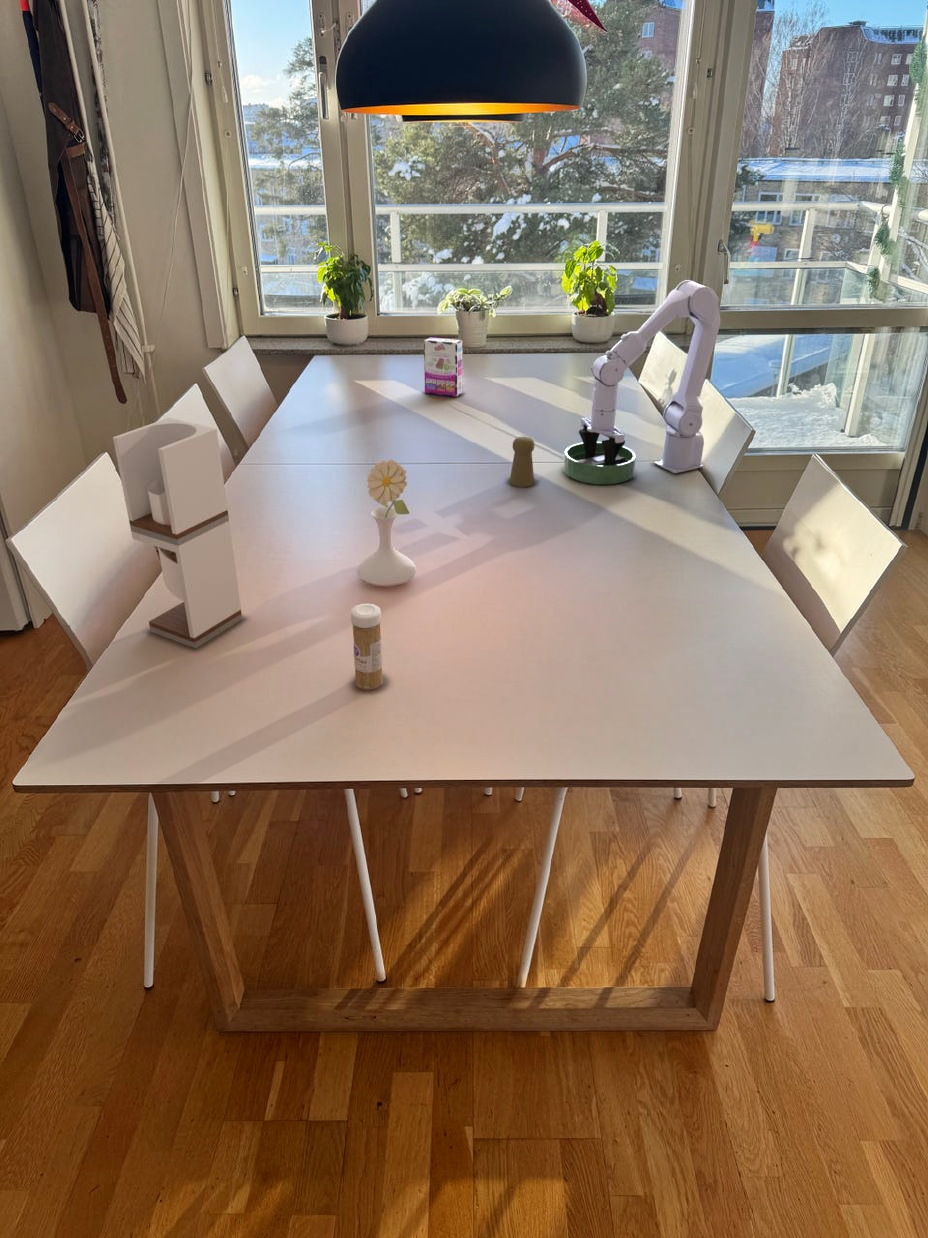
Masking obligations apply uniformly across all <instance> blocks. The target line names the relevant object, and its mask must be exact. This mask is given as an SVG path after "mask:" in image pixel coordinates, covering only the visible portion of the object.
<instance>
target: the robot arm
mask: <svg viewBox="0 0 928 1238" xmlns="http://www.w3.org/2000/svg"><path fill="white" fill-rule="evenodd" d="M719 302H720V298H719V296H718V295H717V293H716V292H715V291H714V289H713V288H711V287H709V286H705V285H702V284H699V283H697V282H695V281H694V280H691V279H686V280H683V281H681V282H680V283H678V285H677V286H676V288H674V289H672V290H671V291H669V293H668V295H667V297H666V298H665V300H664V301H663V302H662V303H661V304H660V306H658V308H656V310H655V311H654V312H653V313H652V314H651V315H650V316H649V317H648V319H647V320H645V322H644V323H643V324H642V325H641V326H640V328H638V329H637V330H636V331H629V332H627V333H623V334H622V335H621V336H620V340H619V341H618V342H617V343H616V344H615V345H614V346H613V347H611V349H610V350H607V351H606V352H605V355H602V356H599V357H598V358H596V359H595V361H594V362H593V365H592V366H591V367H590V372H591V375H592V376H593V378H594V380H593V381H594V382H593V391H592V403H591V416H590V417H582V418H581V419H580V427H582V428H581V429H579V430H578V435H579V436H580V438H581V441H582V443H583V444H584V449H585V455H586V458H591V457H594V456H595V451H596V445H597V442H598V440H599V437H600V435H602V436H604V437H606V438H608V439H604V440H601V442H602V445H603V448H604V466H607V465H614V462H615V460H616V457H617V455H618V453H619V451H620V449H621V448H622V446H624V445H625V444H626V440H625V433H623V432H622V431H620V430H619V428H618V427H616V426H615V425H616V416H617V415H616V414H617V403H618V401H617V400H618V393H619V383H620V382H621V381H622V380H623V379H624V376H625V372H626V370H627V369H628V368H629V367H630V366H631V365H632V364H633V363H634V362H635V361H636V360H637V359H638V358H639V357H640V356H642V355H643V353H644V352H645V351H647V344H648V342H649V341H650V340H652V338H653V337H655V336H656V335H657V334H658V333H660V331H662V330H663V329H664V328H665V327H666V326H667V325H669V324H670V323H671V322H673V320H675V319H685V318H690V320H691V321H692V322H693V324H694V330H693V332H692V337H691V340H690V345H689V348H688V351H687V352H688V353H687V355H686V359H685V364H684V366H683V371H682V375H681V378H680V382H679V385H678V388H677V391H676V392H675V393H673V394H672V395H671V396H670V401H669V403H668V404H667V405H666V406H665V408H664V410H663V414H662V415H663V416H662V417H663V420H664V422H665V423H666V430H665V436H664V444H663V451H662V458H661V460H658V461H655V462H654V465H655V466H658V467H660V468H662V469H664V470H666V471H668V472H670V473H672V474H679V473H683V472H689V471H692V470H693V471H694V470H697V469H701V468H703V467H704V465H703V464H702V461H703V460H702V459H703V452H704V447H705V440H704V439H705V438H704V435H703V433H702V432H701V431H700V430H701V428H702V426H703V415H702V414H703V410H704V407H703V402H702V399H701V394H702V392H703V391H702V390H703V387H704V384H705V380H706V376H707V374H708V373H707V372H708V369H709V366H710V363H711V358H712V355H713V351H714V348H715V344H716V341H717V338H718V334H719V329H720V326H721V322H722V320H721V319H722V318H721V314H720V309H719Z"/></svg>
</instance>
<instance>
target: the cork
mask: <svg viewBox="0 0 928 1238" xmlns="http://www.w3.org/2000/svg"><path fill="white" fill-rule="evenodd" d="M512 450H513V451H514V453H513V458H512V465H511V471H510V476H509V484H510V485H512V486H514V487H519V488H526V487H527V488H528V487H531V486H533V485H534V484H535V476H534V474H535V473H534V463H533V462H534V461H533V451H534V450H535V441H534V439H532V438H531V437H528V436H518V437H516V438H515V439H514V440H513V441H512Z"/></svg>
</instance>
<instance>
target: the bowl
mask: <svg viewBox="0 0 928 1238" xmlns="http://www.w3.org/2000/svg"><path fill="white" fill-rule="evenodd" d="M563 455H564V456H563V473H564V474H565V475H566V476H568V477H569V478H571V479H573V480H575V481H578V482H581V483H584V484H585V483H586V484H588V485H599V486H603V485H604V486H605V485H606V486H608V485H615V484H620V483H624V482H626V481H628V480H630V479H632V478H633V476H634V474H635V469H636V468H635V467H636V460H637V459H636V458H637V455H636V453H635V452H634V451H633V450H632V449H631V448H628V447H626V446H624V445H623V446H622V448H621V449H620V451H619V453H618V455H619V456H621V457H623V458H625V462H624V463H623V464H618V465H607V466H602V465H591V464H586V463H582V462H578V461H577V460H582V459H587V458H586V455H585V449H584V444H583V442H579V443H575V444H572V445H570V446H568V447H566V449H565V450H564V454H563ZM601 455H604V448H603V445H602V441H597V445H596V451H595V456H594V457H596V456H601Z"/></svg>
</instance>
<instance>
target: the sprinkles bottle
mask: <svg viewBox="0 0 928 1238" xmlns="http://www.w3.org/2000/svg"><path fill="white" fill-rule="evenodd" d="M350 622H351V625H352V634H353V635H352V637H353V662H354V671H355V672H354V674H355V679H354V684H355V685H356V687H357V688H359V689H362V690H366V691H369V690H371V691H372V690H375V689H378V688H379V687H381V686H382V685H383V684H384V677H383V650H382V634H381V622H382V611H381V608H380V607H379V606H378V605H376V604H373V603H360V604H357V605H355V606H353V607H352V608H351V610H350Z"/></svg>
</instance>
